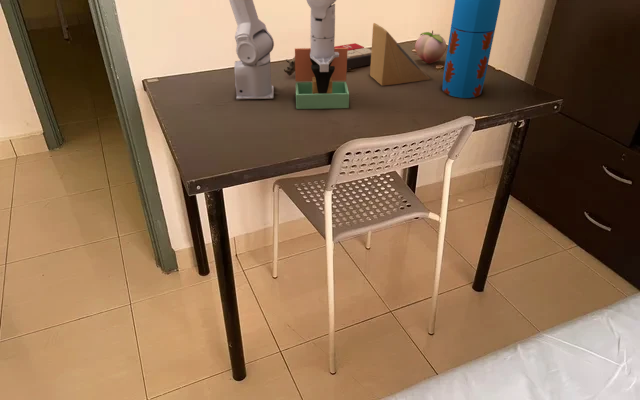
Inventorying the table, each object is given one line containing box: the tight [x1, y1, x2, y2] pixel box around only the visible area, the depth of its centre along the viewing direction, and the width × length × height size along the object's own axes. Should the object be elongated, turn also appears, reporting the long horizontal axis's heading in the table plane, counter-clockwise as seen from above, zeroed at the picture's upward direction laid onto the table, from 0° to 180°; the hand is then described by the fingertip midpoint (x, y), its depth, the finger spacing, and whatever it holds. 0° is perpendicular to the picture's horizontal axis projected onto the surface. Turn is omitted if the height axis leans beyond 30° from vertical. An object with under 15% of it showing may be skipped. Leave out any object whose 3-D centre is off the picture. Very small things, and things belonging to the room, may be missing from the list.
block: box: [311, 77, 333, 94], centre depth 127 cm, size 5×4×4 cm
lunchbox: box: [295, 81, 350, 110], centre depth 130 cm, size 8×13×4 cm, turn 93°
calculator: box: [334, 43, 372, 72], centre depth 153 cm, size 11×4×15 cm
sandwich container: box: [369, 22, 431, 87], centre depth 141 cm, size 9×15×15 cm, turn 109°
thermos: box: [441, 0, 502, 99], centre depth 130 cm, size 11×11×25 cm
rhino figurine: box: [283, 56, 295, 77], centre depth 145 cm, size 4×14×6 cm, turn 132°
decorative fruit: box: [414, 30, 447, 65], centre depth 152 cm, size 9×8×10 cm
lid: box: [294, 47, 348, 82], centre depth 130 cm, size 9×13×4 cm
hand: (322, 89), depth 127 cm, fingers closed on block, 4 cm apart
